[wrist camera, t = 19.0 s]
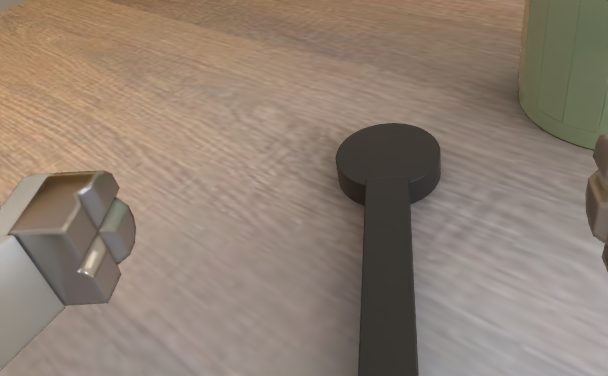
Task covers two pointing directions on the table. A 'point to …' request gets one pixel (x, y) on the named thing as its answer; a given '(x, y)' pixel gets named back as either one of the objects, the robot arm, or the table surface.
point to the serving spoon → (388, 237)
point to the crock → (566, 68)
